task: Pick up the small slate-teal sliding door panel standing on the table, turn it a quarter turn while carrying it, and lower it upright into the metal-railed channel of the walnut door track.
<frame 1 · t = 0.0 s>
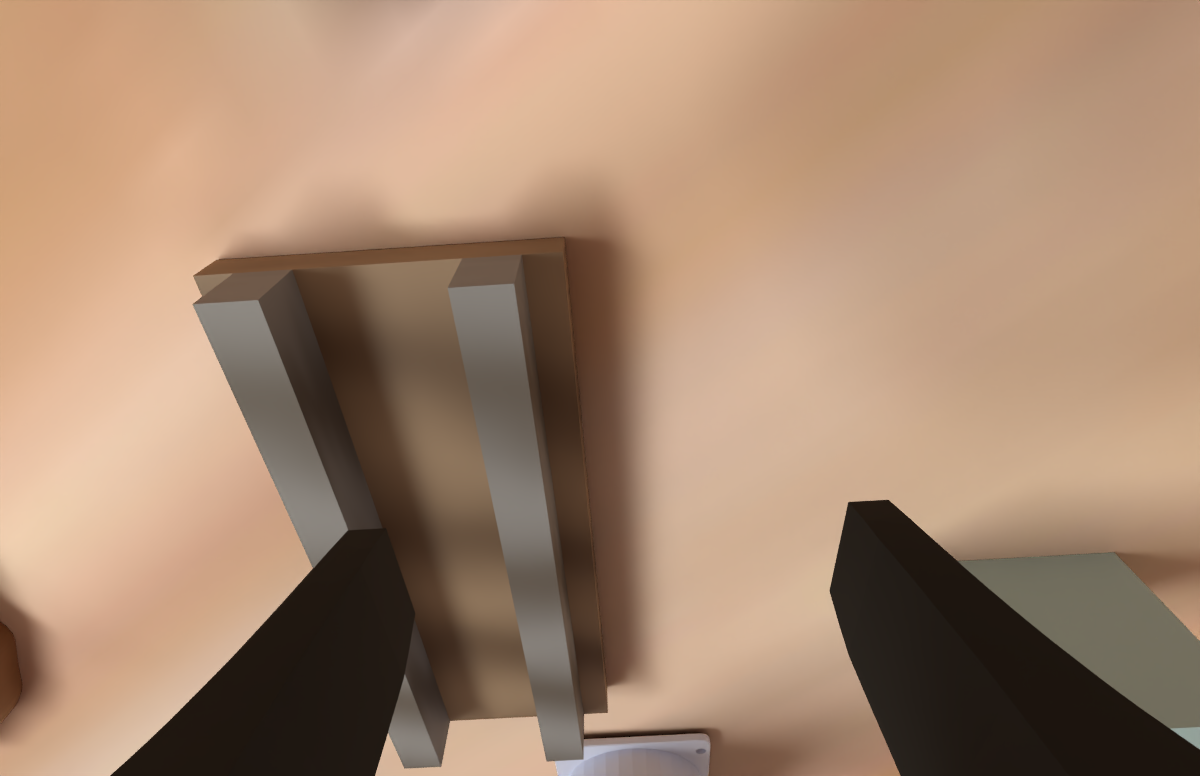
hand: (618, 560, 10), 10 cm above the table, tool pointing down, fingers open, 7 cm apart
door track: (460, 527, 23), on the table
door panel: (978, 582, 26), on the table
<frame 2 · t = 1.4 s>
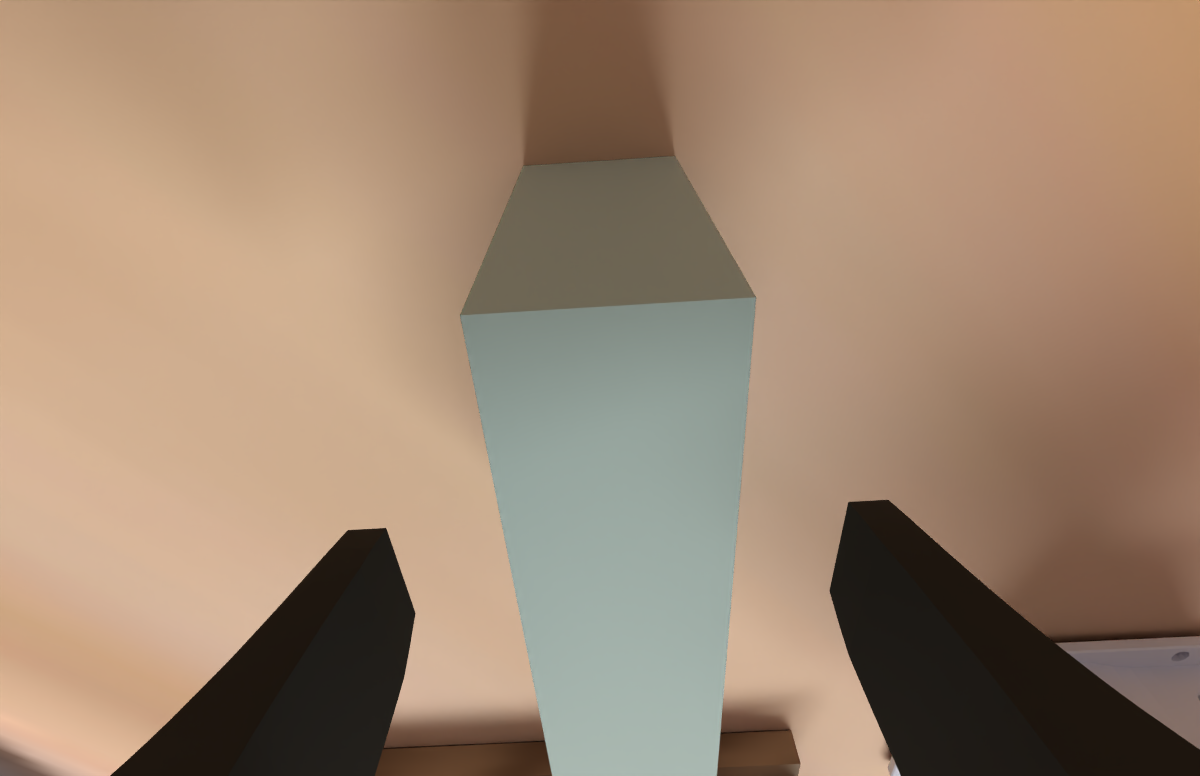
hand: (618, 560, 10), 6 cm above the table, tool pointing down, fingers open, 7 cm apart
door panel: (611, 375, 15), on the table
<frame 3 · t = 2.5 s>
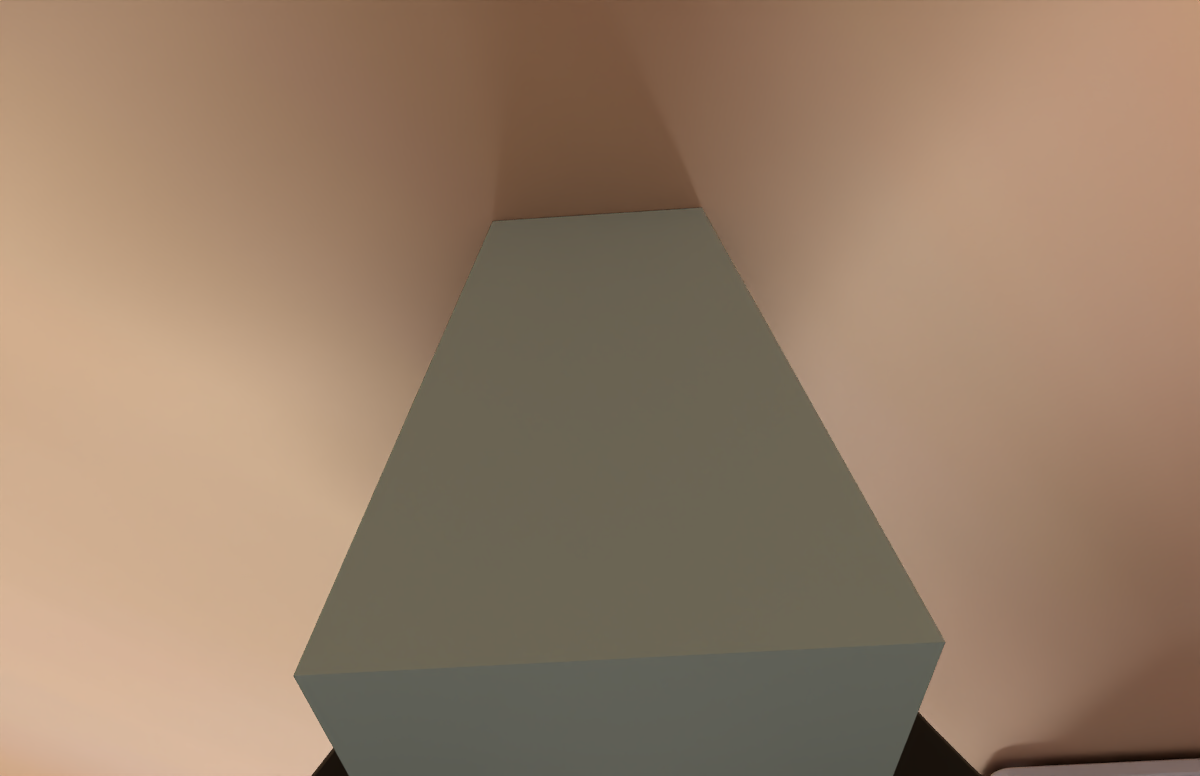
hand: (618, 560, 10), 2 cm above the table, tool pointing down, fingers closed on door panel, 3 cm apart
door panel: (613, 480, 11), on the table, touching gripper
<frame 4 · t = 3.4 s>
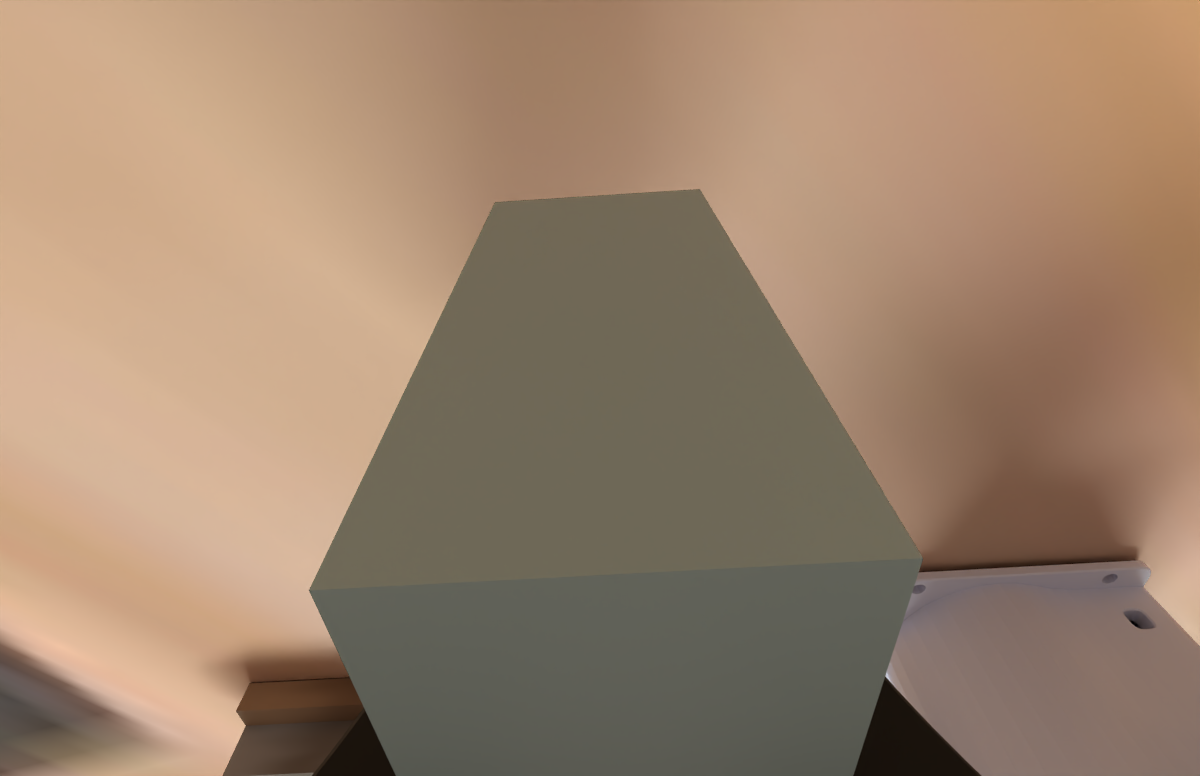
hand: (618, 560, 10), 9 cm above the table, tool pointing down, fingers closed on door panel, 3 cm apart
door track: (522, 733, 28), on the table
door panel: (613, 462, 12), point 6 cm above the table, touching gripper
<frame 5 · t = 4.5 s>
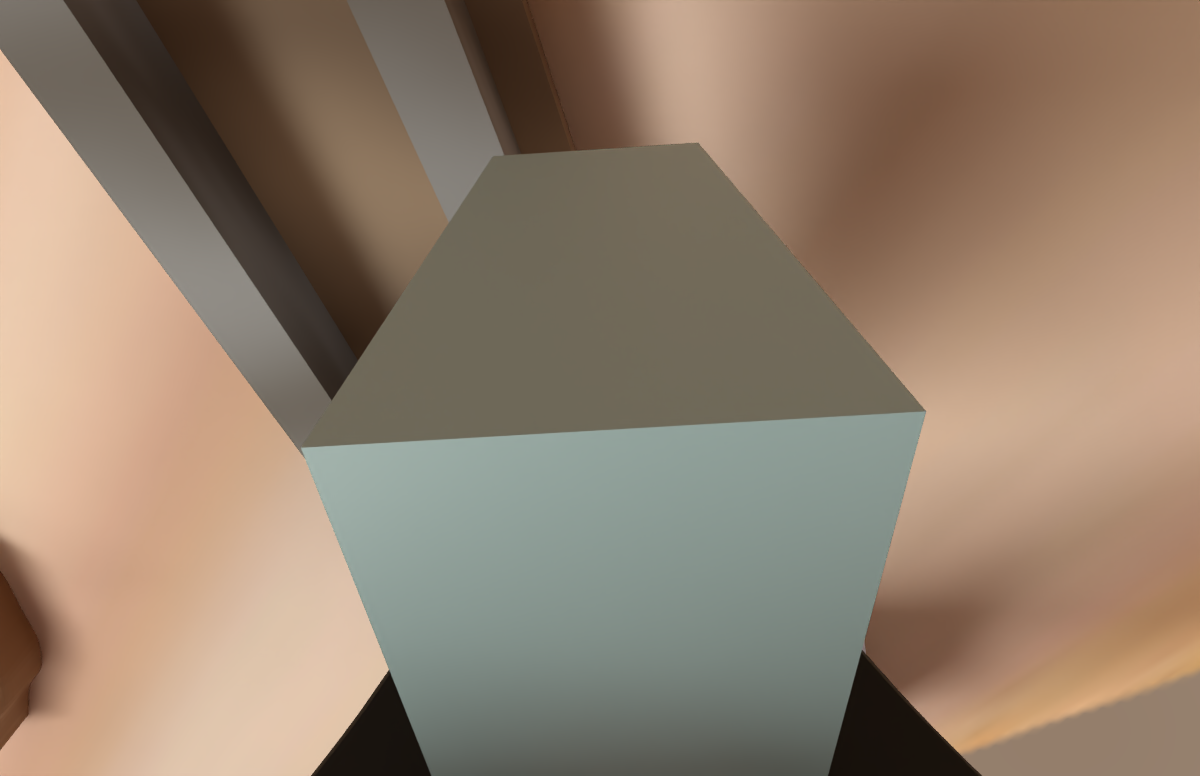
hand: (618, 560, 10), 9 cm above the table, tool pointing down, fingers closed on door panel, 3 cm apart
door track: (451, 331, 17), on the table
door panel: (611, 428, 11), point 6 cm above the table, touching gripper
when the fingers open (4 cm above the table, at t = 6.0 s): door panel stays where it is, resting on door track.
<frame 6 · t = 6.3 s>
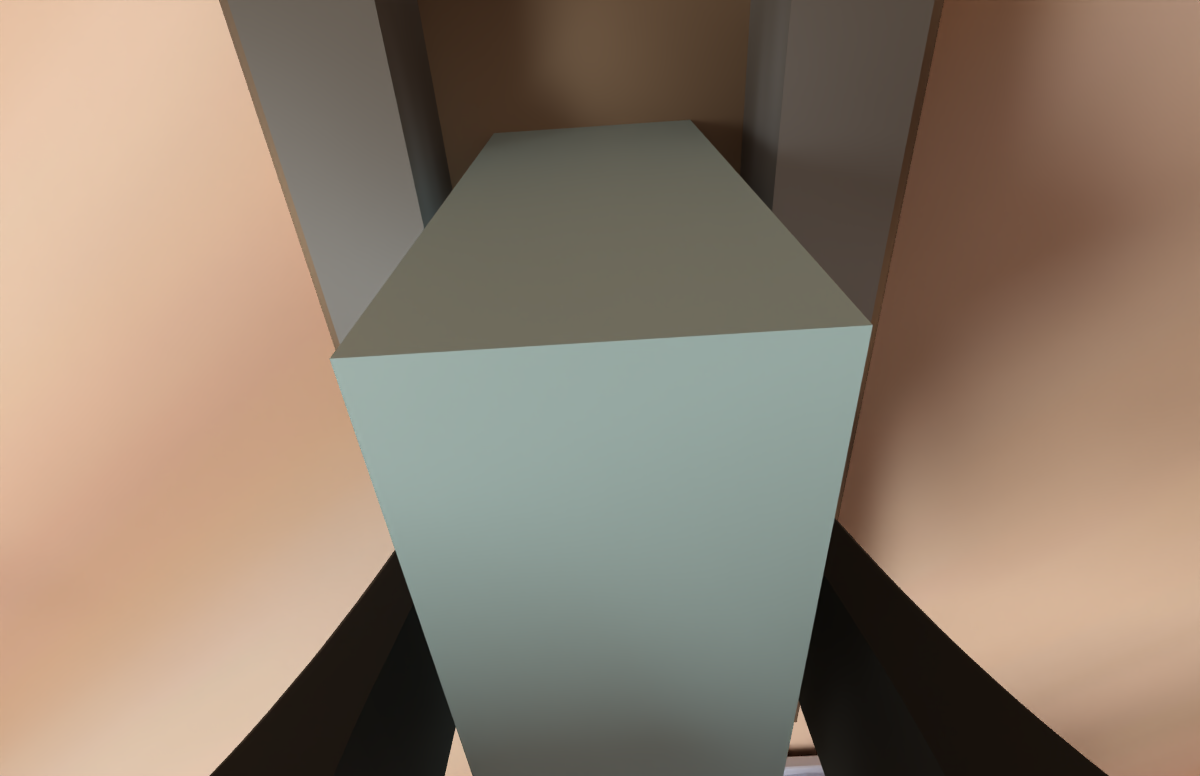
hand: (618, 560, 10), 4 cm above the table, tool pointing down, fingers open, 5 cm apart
door track: (610, 406, 13), on the table
door panel: (609, 399, 12), point 1 cm above the table, touching door track
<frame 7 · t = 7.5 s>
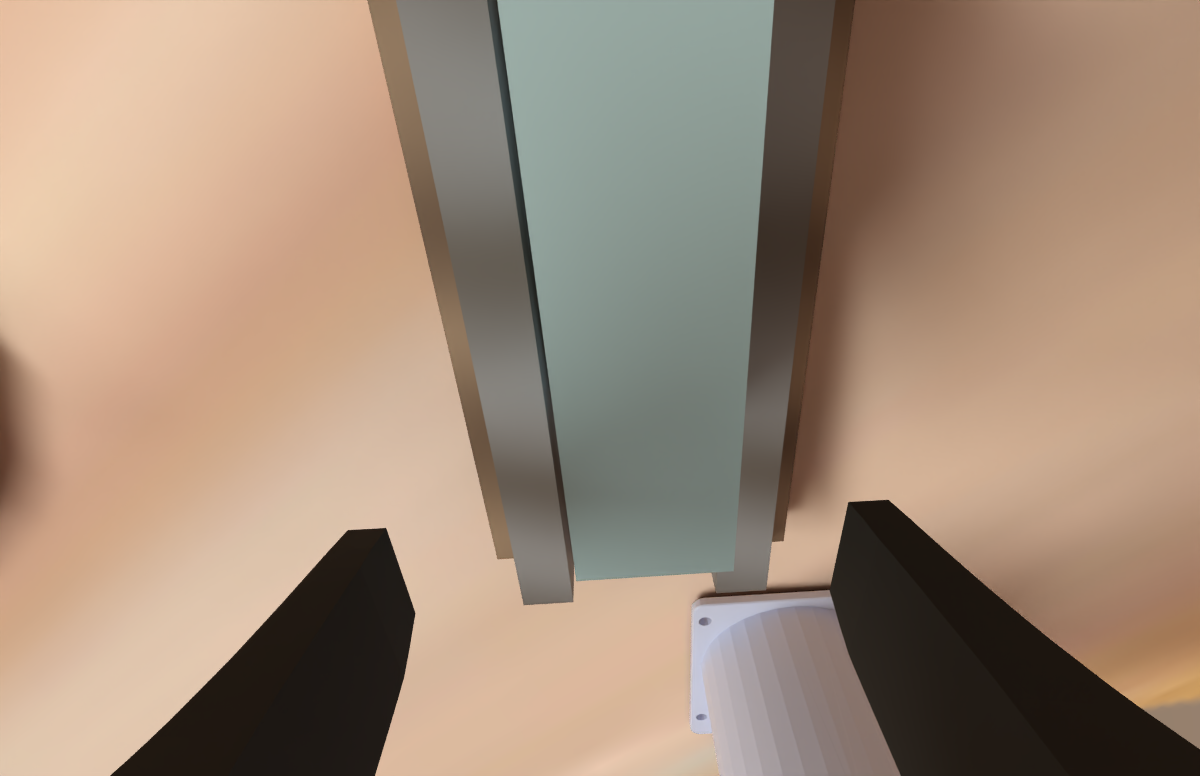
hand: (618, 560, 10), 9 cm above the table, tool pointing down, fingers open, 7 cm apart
door track: (622, 230, 16), on the table
door panel: (622, 207, 15), point 1 cm above the table, touching door track
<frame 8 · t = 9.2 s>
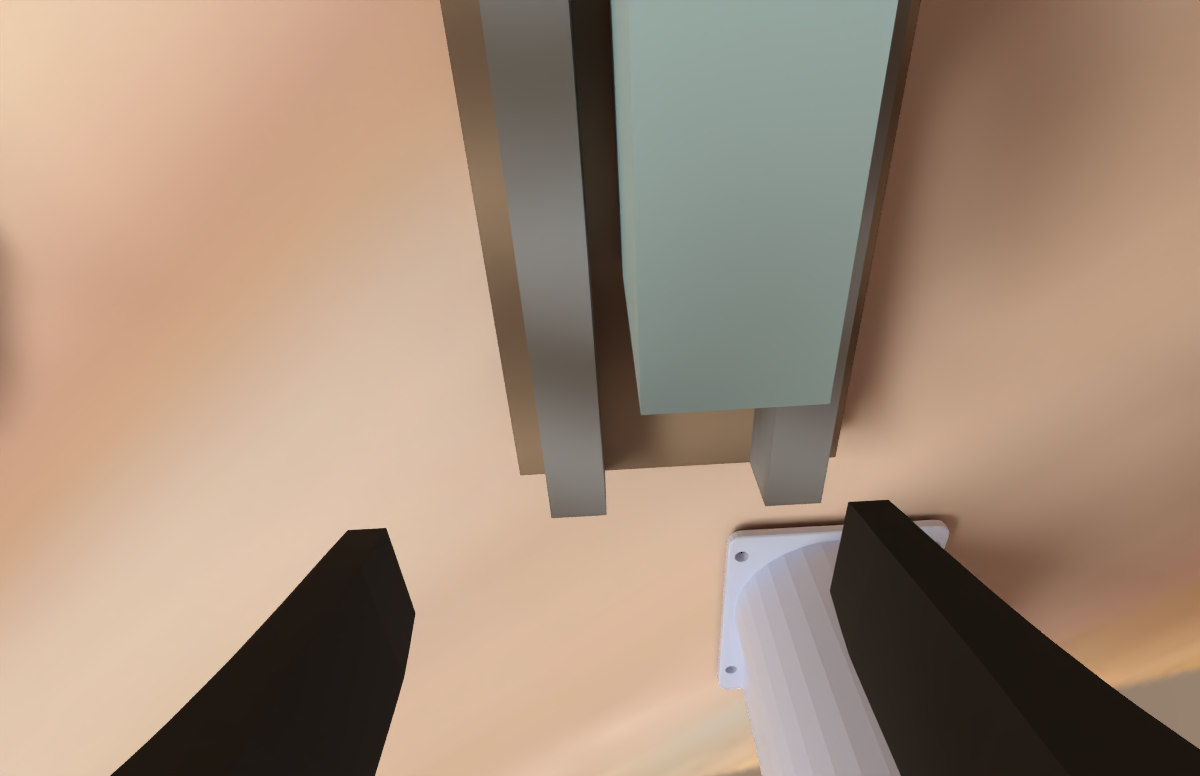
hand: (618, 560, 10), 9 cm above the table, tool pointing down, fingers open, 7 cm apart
door track: (674, 75, 14), on the table
door panel: (681, 30, 13), point 1 cm above the table, touching door track
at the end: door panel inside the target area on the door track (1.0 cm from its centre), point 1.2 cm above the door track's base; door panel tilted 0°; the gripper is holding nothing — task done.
